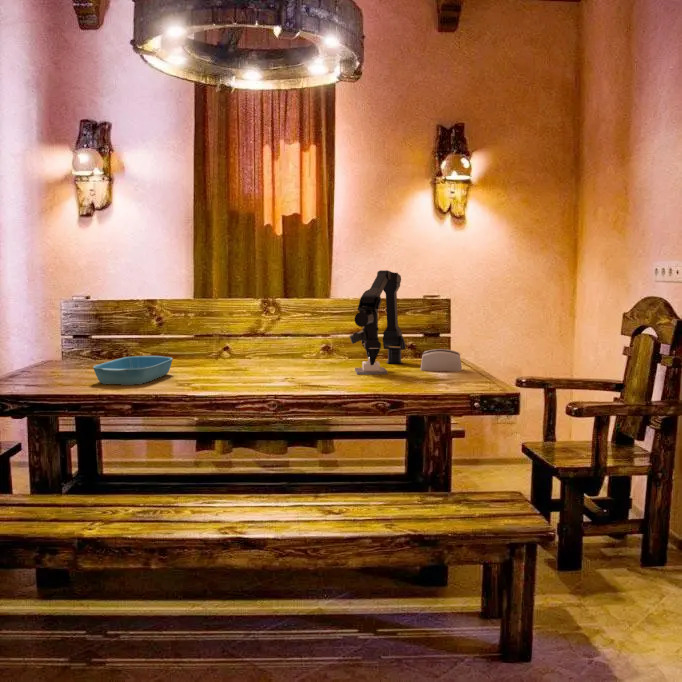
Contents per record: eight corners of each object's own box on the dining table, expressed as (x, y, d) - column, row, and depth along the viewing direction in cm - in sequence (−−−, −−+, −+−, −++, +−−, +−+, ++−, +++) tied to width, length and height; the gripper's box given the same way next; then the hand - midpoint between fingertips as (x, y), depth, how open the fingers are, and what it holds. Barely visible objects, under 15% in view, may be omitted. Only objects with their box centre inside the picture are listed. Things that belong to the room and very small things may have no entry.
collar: (362, 368, 296) (362, 361, 295) (378, 368, 296) (377, 361, 296) (363, 370, 289) (363, 363, 289) (379, 370, 290) (379, 363, 289)
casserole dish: (141, 388, 260) (140, 368, 259) (83, 387, 264) (82, 367, 263) (181, 373, 296) (180, 355, 295) (129, 372, 300) (129, 355, 299)
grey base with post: (354, 370, 298) (354, 352, 298) (383, 369, 299) (383, 351, 298) (357, 374, 286) (357, 355, 286) (387, 374, 287) (387, 355, 286)
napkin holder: (461, 369, 299) (462, 347, 295) (461, 374, 295) (461, 352, 290) (421, 368, 302) (420, 347, 298) (420, 374, 298) (419, 352, 293)
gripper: (349, 323, 300) (349, 360, 301) (352, 327, 281) (352, 367, 283) (375, 322, 300) (376, 360, 302) (381, 326, 282) (381, 366, 283)
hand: (370, 363), depth 292 cm, fingers open, 9 cm apart
